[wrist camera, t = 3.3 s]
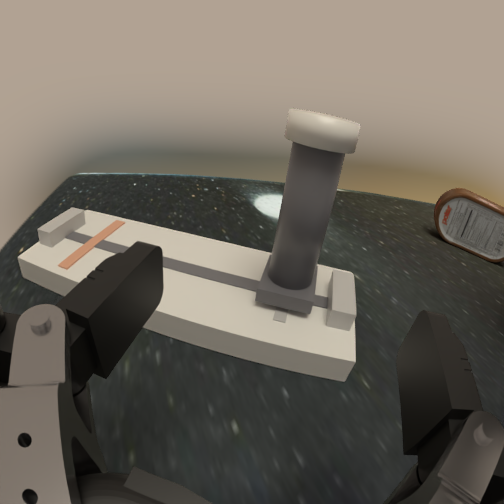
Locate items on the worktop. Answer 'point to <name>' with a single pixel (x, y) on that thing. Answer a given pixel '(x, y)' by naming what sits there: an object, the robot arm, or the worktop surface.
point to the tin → (471, 223)
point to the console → (207, 292)
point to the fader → (305, 207)
